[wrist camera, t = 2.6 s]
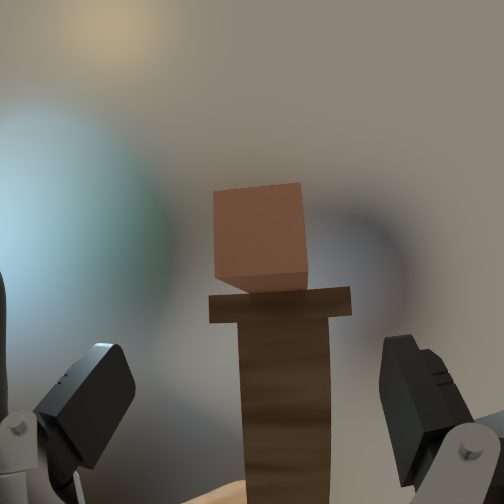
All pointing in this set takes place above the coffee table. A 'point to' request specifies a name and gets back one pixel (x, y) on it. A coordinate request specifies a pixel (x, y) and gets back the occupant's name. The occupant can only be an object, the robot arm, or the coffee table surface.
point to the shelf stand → (285, 389)
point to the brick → (261, 238)
